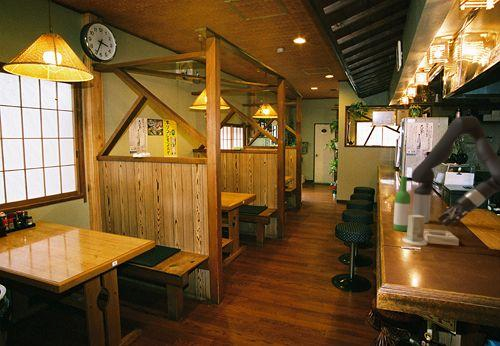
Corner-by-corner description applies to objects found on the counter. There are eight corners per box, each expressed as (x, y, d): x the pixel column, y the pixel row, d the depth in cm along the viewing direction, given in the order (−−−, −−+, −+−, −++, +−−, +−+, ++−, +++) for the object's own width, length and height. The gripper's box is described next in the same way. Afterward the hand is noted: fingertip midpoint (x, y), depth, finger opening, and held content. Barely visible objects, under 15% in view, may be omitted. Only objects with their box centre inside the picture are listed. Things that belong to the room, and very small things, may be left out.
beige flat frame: (420, 234, 172) (420, 228, 172) (447, 236, 169) (448, 230, 169) (428, 243, 158) (429, 237, 157) (458, 245, 155) (458, 239, 154)
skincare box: (412, 241, 156) (413, 217, 155) (406, 238, 160) (407, 214, 159) (423, 241, 157) (425, 216, 156) (417, 238, 162) (419, 214, 160)
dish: (400, 237, 165) (400, 235, 165) (423, 239, 163) (423, 237, 163) (404, 244, 155) (404, 242, 155) (429, 246, 152) (430, 244, 152)
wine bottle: (410, 232, 176) (413, 177, 173) (394, 231, 177) (398, 177, 174) (406, 228, 183) (409, 176, 180) (391, 227, 185) (394, 175, 182)
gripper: (459, 192, 158) (431, 213, 162) (471, 197, 144) (440, 220, 148) (470, 203, 157) (442, 224, 161) (483, 209, 144) (452, 232, 148)
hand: (441, 222), depth 155 cm, fingers open, 8 cm apart
